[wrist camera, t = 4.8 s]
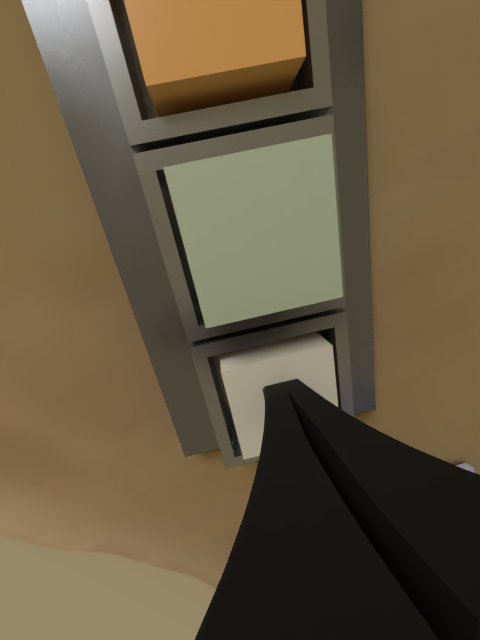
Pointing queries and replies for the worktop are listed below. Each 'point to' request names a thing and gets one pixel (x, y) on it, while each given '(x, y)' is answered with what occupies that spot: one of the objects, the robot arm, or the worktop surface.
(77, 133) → the panel
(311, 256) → the button sage
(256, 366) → the button cream
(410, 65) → the worktop surface
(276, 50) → the button orange
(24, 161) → the worktop surface
